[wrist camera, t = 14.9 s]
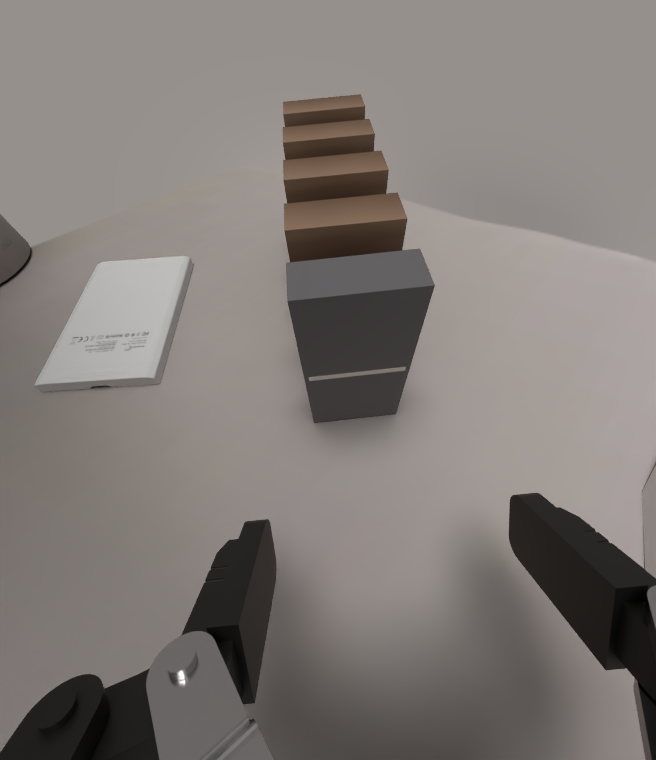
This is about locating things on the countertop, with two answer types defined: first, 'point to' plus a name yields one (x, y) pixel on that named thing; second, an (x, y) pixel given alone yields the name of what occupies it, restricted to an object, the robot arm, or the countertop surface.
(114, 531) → the countertop surface
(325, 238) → the domino
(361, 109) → the domino
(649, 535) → the decorative plate
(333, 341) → the domino
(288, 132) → the domino
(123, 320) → the external hard drive
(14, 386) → the countertop surface
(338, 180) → the domino
